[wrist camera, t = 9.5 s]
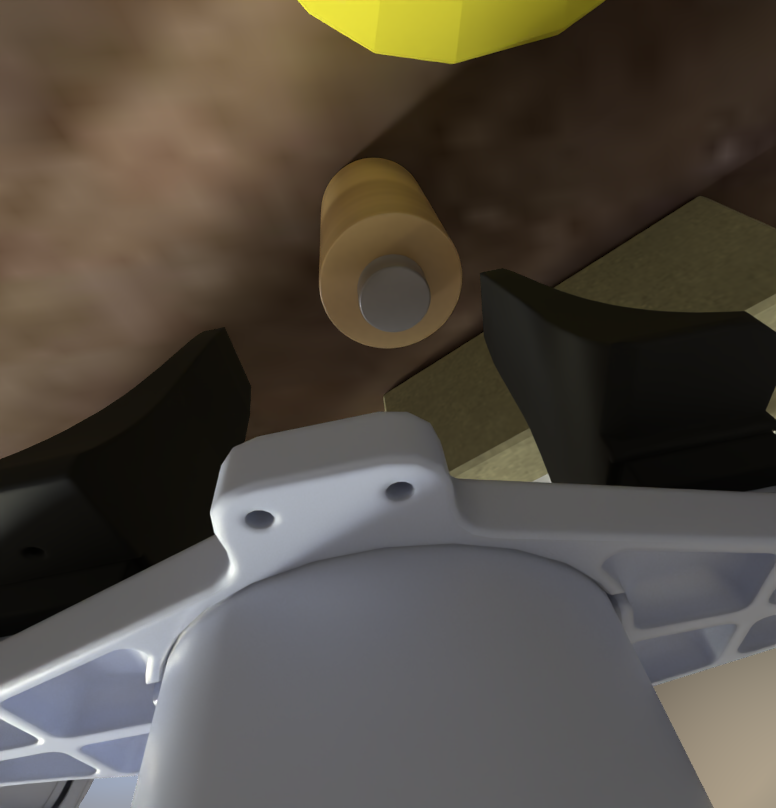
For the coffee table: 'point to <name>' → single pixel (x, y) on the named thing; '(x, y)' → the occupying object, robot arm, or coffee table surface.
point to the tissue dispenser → (608, 283)
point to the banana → (447, 24)
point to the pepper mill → (384, 257)
